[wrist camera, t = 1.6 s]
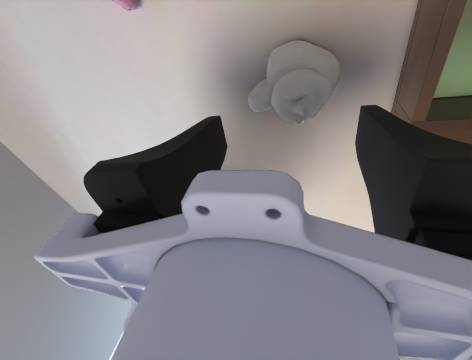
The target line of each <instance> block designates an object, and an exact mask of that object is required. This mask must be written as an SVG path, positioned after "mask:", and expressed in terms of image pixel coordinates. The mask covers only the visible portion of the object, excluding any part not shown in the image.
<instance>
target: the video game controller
mask: <svg viewBox="0 0 472 360" xmlns="http://www.w3.org/2000/svg"><path fill="white" fill-rule="evenodd" d="M113 1H114V2H115V3H116V4H117V5H119V6H121V7H123V8H124V9H126V10H135V9H136V8H137V5H138V0H113Z"/></svg>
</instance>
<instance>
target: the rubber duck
mask: <svg viewBox="0 0 472 360" xmlns="http://www.w3.org/2000/svg"><path fill="white" fill-rule="evenodd" d="M266 74H267V79H265V80H262V81H260V82H259V83H258V84H257V86H256V87H255V88H254V89H253V90H252V91H251V92H250V93H249V96H248V104H249V106H250V108H251V109H252V110H253V111H255V112H262V111H265V110H268V109H270V108H272V107H273V108H274V110H275V112H276V113H277V114H278V116H279V117H280V118H281V119H282V120H284V121H285V122H287V123H290V124H299V123H303V122H306V121H308V120H310V119H311V118H313V117H314V116H315V115H316V113H317V112H318V111H319V110H320V109H321V107H322V106H323V105H324V104H325V102H326V101H327V99H328V97H329V95H330V94H331V92H332V91H333V89H334V87H335V86H336V84H337V82H338V80H339V77H340V66H339V62H338V60H337V58H336V57H335V56H334V55H333V54H332V53H331V52H329V51H327V50H325V49H323V48H321V47H319V46H316V45H312V44H311V43H309V42H306V41H300V40H294V41H290V42H288V43H285V44H283V45H281V46H279V47H277V48H275V49H274V50H273V51H272V52H271V53H270V56H269V59H268V66H267V70H266Z"/></svg>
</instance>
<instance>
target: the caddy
mask: <svg viewBox="0 0 472 360" xmlns="http://www.w3.org/2000/svg"><path fill="white" fill-rule="evenodd" d="M392 114H393V115H395V116H397V117H399V118H400V119H402V120H404V121H406V122H408V123H410V124H412V125H414V126H416V127H419V128H421V129H423V130H426V131H428V132H431V133H434V134H437V135H439V136H443V137H446V138H449V139H453V140H457V141H461V142H464V143H469V144H472V0H419V2H418V7H417V11H416V15H415V19H414V23H413V27H412V31H411V35H410V39H409V43H408V47H407V52H406V56H405V60H404V64H403V68H402V72H401V76H400V80H399V84H398V88H397V92H396V97H395V101H394V105H393V109H392Z"/></svg>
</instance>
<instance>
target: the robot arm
mask: <svg viewBox="0 0 472 360" xmlns="http://www.w3.org/2000/svg"><path fill="white" fill-rule="evenodd" d="M355 144H356V152H357V158H358V162H359V165H360V168H361V171H362V175H363V178H364V181H365V184H366V187H367V190H368V194H369V198H370V204H371V210H372V216H373V222H374V229H375V233H373V232H369V231H366V230H362V229H359V228H355V227H351V226H348V225H344V224H341V223H337V222H334V221H330V220H327V219H323V218H319V217H316V216H312V215H309V214H308V213H306V211H305V210H304V205H303V191H302V188H301V185H300V183H299V182H298V181H297V180H296V179H294V178H293V177H292V176H290V175H289V174H287V173H282V172H277V171H273V170H220V169H221V166H222V164H223V162H224V159H225V155H226V151H227V143H226V138H225V134H224V130H223V126H222V121H221V117H220V116H210V117H208V118H206V119H204V120H202V121H200V122H199V123H197V124H196V125H194V126H192V127H191V128H189V129H188V130H186V131H184V132H183V133H181V134H179V135H177V136H176V137H174V138H172V139H170V140H168V141H166V142H164V143H162V144H160V145H157V146H155V147H152V148H149V149H147V150H144V151H141V152H138V153H135V154H131V155H127V156H124V157H119V158H114V159H109V160H104V161H99V162H98V163H97V164H96V165H95V166H93V167H92V168H91V169H90V170H89V171H88V172H87V173H86V174H85V176H84V185H85V188H86V190H87V191H88V193H89V194H90V196H91V197H92V198H93V199H94V201H95V202H96V203H97V205H98V206H99V207H100V208H101V210H102V211H103V212H102V213H101V215H100V216H99V217H98V216H96V215H94V214H87V213H74V214H73V215H72V216H71V217H70V218H69V219H68V220H67V221H66V222H65V223H64V224H63V226H61V228H60V229H59V230H58V231H57V232H56V233H55V234H54V235H53V236H52V237H51V238H50V239H49V240H48V241H47V242H46V244H45V245H44V246H43V247H42V248H41V249H40V250H39V251H38V252H37V253H36V254H35V255H34V259H36V260H37V261H38V262H40V263H41V264H42V265H43V266H45V267H46V268H47V269H48V270H50V271H51V272H53V273H54V274H55V275H56V276H57V277H59V278H60V279H61V280H63V281H64V282H65V283H66V284H68V285H69V286H71V287H76V288H81V289H86V290H90V291H94V292H98V293H102V294H105V295H109V296H112V297H116V298H119V299H122V300H125V301H128V302H131V308H130V310H129V313H128V315H127V317H126V319H125V322H124V324H123V326H122V329H123V333H122V336H121V338H120V340H119V342H118V344H117V346H116V348H115V349H114V352H113V353H112V356H111V357H110V359H109V360H400V359H399V358H408V359H420V360H472V144H469V143H464V142H461V141H457V140H453V139H449V138H446V137H443V136H439V135H437V134H434V133H431V132H428V131H426V130H423V129H421V128H419V127H416V126H414V125H412V124H410V123H408V122H406V121H404V120H402V119H400V118H399V117H397V116H395V115H393V114H392V113H390V112H388V111H386V110H385V109H383V108H381V107H379V106H377V105H366V106H361V110H360V116H359V122H358V129H357V135H356V141H355Z"/></svg>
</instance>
